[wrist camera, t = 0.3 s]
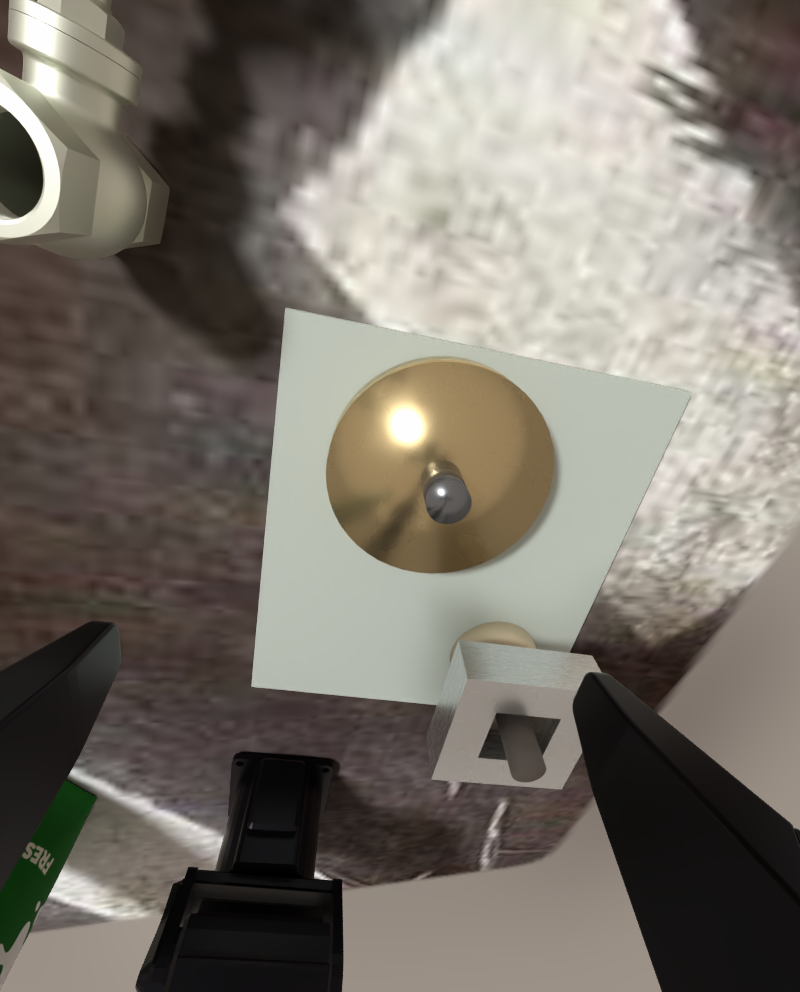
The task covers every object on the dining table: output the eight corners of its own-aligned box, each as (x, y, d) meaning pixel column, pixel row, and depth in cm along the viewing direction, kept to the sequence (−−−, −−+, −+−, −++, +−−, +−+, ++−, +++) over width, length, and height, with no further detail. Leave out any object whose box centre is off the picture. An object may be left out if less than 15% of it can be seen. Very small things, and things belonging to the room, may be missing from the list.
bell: (506, 568, 25) (529, 618, 21) (316, 541, 23) (306, 589, 20) (574, 380, 20) (615, 404, 17) (346, 334, 19) (340, 349, 16)
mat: (538, 709, 30) (539, 715, 30) (252, 681, 28) (251, 686, 27) (687, 390, 21) (692, 392, 21) (286, 307, 19) (285, 308, 18)
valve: (199, 292, 19) (286, -115, 14) (118, 303, 13) (223, -398, 8) (16, 217, 17) (46, -263, 12) (-172, 190, 11) (-248, -740, 7)
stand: (520, 689, 29) (561, 808, 22) (441, 681, 28) (460, 801, 22) (547, 627, 26) (601, 738, 20) (462, 616, 26) (491, 728, 20)
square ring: (546, 747, 26) (561, 789, 24) (426, 736, 26) (431, 779, 23) (592, 655, 24) (614, 694, 21) (458, 639, 23) (467, 678, 20)
